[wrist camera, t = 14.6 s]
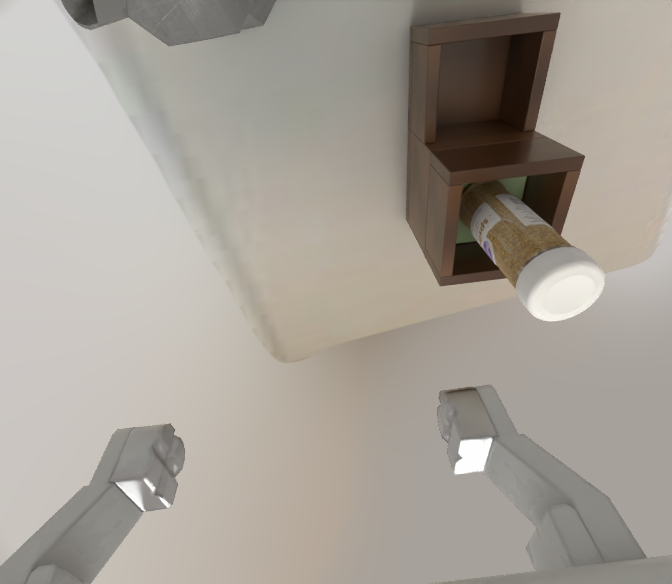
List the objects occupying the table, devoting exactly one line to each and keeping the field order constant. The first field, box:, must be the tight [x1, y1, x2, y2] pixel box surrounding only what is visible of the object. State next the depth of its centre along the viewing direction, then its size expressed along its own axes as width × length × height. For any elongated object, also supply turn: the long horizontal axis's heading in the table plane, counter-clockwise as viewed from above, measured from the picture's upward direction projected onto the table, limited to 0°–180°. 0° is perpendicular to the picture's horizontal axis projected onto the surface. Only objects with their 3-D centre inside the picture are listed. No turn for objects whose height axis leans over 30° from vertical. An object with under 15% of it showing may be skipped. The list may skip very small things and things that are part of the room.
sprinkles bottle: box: [459, 180, 605, 321], centre depth 27 cm, size 5×5×14 cm
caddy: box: [406, 13, 585, 286], centre depth 31 cm, size 18×10×13 cm, turn 6°
